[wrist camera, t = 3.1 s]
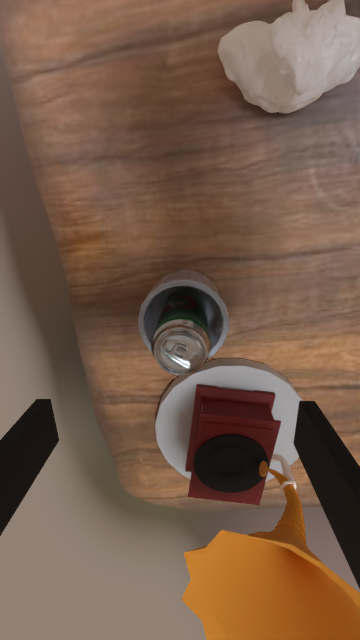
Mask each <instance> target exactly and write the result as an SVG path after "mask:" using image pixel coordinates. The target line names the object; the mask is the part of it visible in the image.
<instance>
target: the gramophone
mask: <svg viewBox="0 0 360 640" xmlns="http://www.w3.org/2000/svg"><path fill="white" fill-rule="evenodd" d="M299 401H302V399H301V397H300V396H299V394H298V393H297V391H296V390H295V389H294V388H293V386H292V385H291V384H290V383H289V381H288V380H287V379H286V377H285V376H283V375H282V374H280V373H278V372H277V371H275V370H274V369H272V368H270V367H269V366H267V365H265V364H262V363H258V362H254V361H250V360H247V359H243V358H230V359H215V360H212V361H208V362H205V363H204V364H203V365H202V366H201V367H200V368H199V369H198V370H197V371H195V372H193V373H191V374H188V375H180V376H179V377H177V378H176V379H174V381H173V382H172V384H171V385H170V386H169V388H168V389H167V390H166V392H165V393H164V394H163V396H162V398H161V402H160V406H159V409H158V413H157V417H156V422H155V428H156V437H157V444H158V446H159V447H160V449H161V451H162V453H163V455H164V457H165V459H166V461H168V462H169V463H170V464H171V465H172V466H173V467H174V468H175V469H176V470H177V471H178V472H179V473H180V474H182V475H184V476H185V477H187V478H189V479H190V486H189V493H188V497H194V498H203V499H211V500H220V501H229V502H237V503H246V504H255V505H259V504H260V500H261V496H262V492H263V489H264V485H265V482H267V481H269V480H271V479H272V478H274V477H276V478H277V480H278V481H279V483H280V485H281V491H282V492H283V493H285V496H286V499H287V505H286V508H285V511H284V513H283V516H282V518H281V520H280V521H279V522H278V525H277V526H276V527H275V529H274V530H273V531H271V532H257V533H253V534H248V535H243V534H238V533H234V532H229V531H225V530H221V531H220V532H219V533H218V535H217V536H216V537H215V538H214V539H213V540H212V541H211V543H210V544H209V545H208V546H205V547H202V548H198V549H195V550H192V551H188V552H185V553H184V555H185V559H186V562H187V566H188V569H189V573H190V577H191V581H190V582H189V584H188V586H187V589H186V591H185V593H184V595H183V597H182V600H183V601H184V602H185V604H186V605H187V606H188V607H189V608H190V609H191V610H192V611H193V612H194V613H195V614H196V615H197V616H198V617H199V618H200V619H201V620H202V622H203V626H204V630H205V635H206V639H207V640H360V593H359V592H358V591H356V590H355V589H354V588H353V587H351V586H350V585H349V584H348V583H346V582H345V581H344V580H342V579H341V578H340V577H339V576H337V575H336V574H335V573H334V572H332V571H331V570H330V569H329V568H327V567H326V566H325V565H324V564H323V563H322V562H321V561H320V559H319V558H317V557H316V556H315V555H314V554H313V553H312V552H311V551H310V550H309V549H308V547H307V545H306V541H305V538H306V536H305V524H304V517H303V511H302V504H301V502H300V499H299V497H298V494H297V492H296V488H297V485H296V482H295V480H294V477H293V475H292V472H291V470H290V466H291V465H292V464H293V463H294V462H295V461H296V460H297V459H298V457H299V455H298V453H297V451H296V448H295V446H294V444H293V442H294V435H295V428H296V421H297V414H298V407H299ZM282 473H283V474H284V475H285V476H286V477H287V478H288V479H289V480H290V481H289V480H288V479H287V478H286V477H284V476H283V475H282Z"/></svg>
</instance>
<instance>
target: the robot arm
mask: <svg viewBox="0 0 360 640" xmlns="http://www.w3.org/2000/svg"><path fill="white" fill-rule="evenodd" d="M58 441H59V438H58V433H57V428H56V423H55V418H54V414H53V409H52V404H51V399H36V401H35V402H34V403H33V404H32V405H31V406H30V407H29V408H28V409H27V411H26V412H25V413H24V414H23V415H22V416H21V418H20V419H19V420H18V421H17V422H16V423H15V424H14V425H13V426H12V428H11V429H10V430H9V431H8V432H7V433H6V435H4V437H3V438H2V439H1V440H0V535H1V534H2V532H3V531H4V529H5V527H6V526H7V524H8V522H9V521H10V519H11V518H12V516H13V514H14V513H15V511H16V509H17V508H18V506H19V505H20V503H21V501H22V500H23V498H24V496H25V495H26V493H27V492H28V490H29V488H30V487H31V485H32V483H33V482H34V480H35V479H36V477H37V475H38V474H39V472H40V470H41V469H42V467H43V466H44V464H45V462H46V460H47V459H48V457H49V456H50V454H51V453H52V451H53V449H54V448H55V446H56V444H57V443H58ZM293 444H294V446H295V448H296V451H297V453H298V455H299V457H300V459H301V462H302V464H303V466H304V468H305V470H306V472H307V475H308V477H309V479H310V481H311V483H312V486H313V488H314V490H315V492H316V494H317V496H318V499H319V501H320V503H321V505H322V507H323V510H324V512H325V514H326V516H327V518H328V520H329V523H330V525H331V527H332V529H333V531H334V534H335V536H336V538H337V540H338V542H339V545H340V547H341V549H342V551H343V553H344V555H345V558H346V560H347V561H348V564H349V566H350V568H351V571H352V573H353V575H354V577H355V579H356V582H357V584H358V586H359V588H360V467H359V465H358V464H357V462H356V461H355V459H354V458H353V456H352V455H351V453H350V452H349V451H348V449H347V448H346V446H345V445H344V443H343V442H342V440H341V439H340V437H339V436H338V435H337V433H336V432H335V430H334V429H333V427H332V426H331V424H330V423H329V421H328V420H327V418H326V417H325V416H324V414H323V413H322V411H321V410H320V408H319V407H318V405H317V404H316V402H315V401H299V407H298V414H297V421H296V428H295V435H294V442H293Z"/></svg>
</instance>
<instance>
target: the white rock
mask: <svg viewBox="0 0 360 640" xmlns="http://www.w3.org/2000/svg"><path fill="white" fill-rule="evenodd" d="M218 53H219V57H220V60H221V62H222V63H223V66H224V71H225V73H226V76H227V77H228V79H229V80H231V81H233V82H235V83H236V84H237V86H238V87H239V89H240V90H241V92H242V94H243V97H244V99H245V100H246V101H248V102H249V103H251V104H253V105H257V106H260V107H261V108H262V109H264V110H265V111H267V112H269V113H275V112H280V113H287V114H288V113H291V112H294V111H296V110H298V109H301V108H303V107H305V106H306V105H309V104H311V103H312V102H314V101H315V100H317V99H319V98H320V97H321V95H322V94H323V93H324V92H327V91H329V90H331V89H333V88H334V87H335V86H337V85H340V84H345V83H347V82H348V81H350V80H351V79H352V78H353V76H354V75H355V73H356V71H357V70H358V68H359V67H360V18H357V17H353V16H348V15H346V9H345V4H344V0H330V1H329V2H327V3H325V4H323V5H322V6H321V7H320V8H318V10H310V11H309V7H308V5H307V4H306V3H305V1H304V0H293V2H292V12H288V13H285V14H284V15H283V16H282V17H279V18H277V19H276V20H275V22H274V23H271V24H267V23H266V22H263V21H252V22H246V23H243V24H241V25H239V26H237V27H235V28H234V29H233V30H231V31H230V32H229V33H227V34H226V35H225V36H223V37H222V38H221V39H220V44H219V46H218Z"/></svg>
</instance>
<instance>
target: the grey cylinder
mask: <svg viewBox="0 0 360 640" xmlns="http://www.w3.org/2000/svg"><path fill="white" fill-rule="evenodd" d="M180 289H189V290H192V291H195V292H196V293H198V294H199V295H200V296H201V297H202V298H203V300H204V302H205V305H206V311H207V318H208V325H209V332H210V340H211V351H210V355H209V357H211V356H213V355H214V354H215V353H216V352H217V351H218V350H219V349H220V347H221V346H222V345H223V343H224V341H225V339H226V336H227V334H228V330H229V316H228V313H227V309H226V306H225V303H224V300H223V298H222V295H221V292H220V290H219V289H218V288H217V286H216V285H215V283H214V282H213V281H212V280H211V279H209V278H208V277H207V276H205V275H203V274H201V273H199V272H196V271H192V270H178V271H174V272H171V273H169V274H167V275H165V276H163V277H162V278H161V279H160V280H158V281H157V282H156V283H155V285H154V286H153V288H152V289H151V291H150V292H149V294H148V295H147V297H146V299H145V300H144V302H143V303H142V305H141V308H140V312H139V316H138V325H139V332H140V335H141V337H142V340H143V342H144V344H145V345H146V346H147V347H148V349H149V350H150V351H151V352H152V350H151V340H152V336H153V333H154V331H155V328H156V325H157V322H158V320H159V317H160V314H161V312H162V309H163V306H164V303H165V301H166V299H167V298H168V296H169V295H170V294H172V293H173V292H175V291H177V290H180ZM209 357H208V358H209Z"/></svg>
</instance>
